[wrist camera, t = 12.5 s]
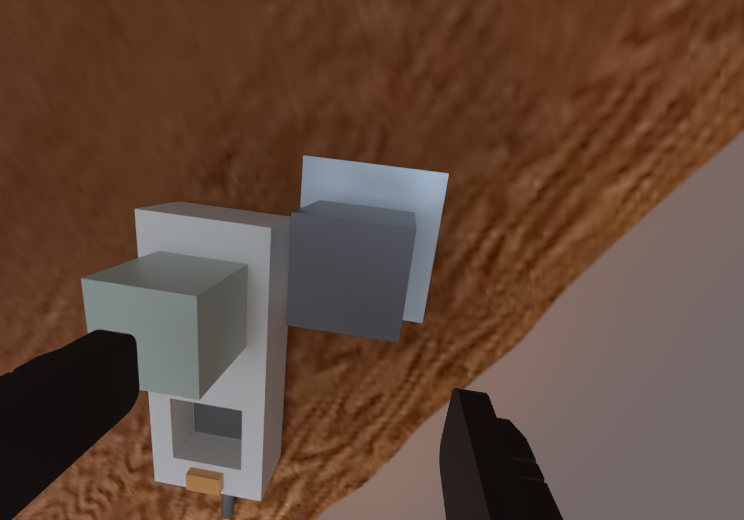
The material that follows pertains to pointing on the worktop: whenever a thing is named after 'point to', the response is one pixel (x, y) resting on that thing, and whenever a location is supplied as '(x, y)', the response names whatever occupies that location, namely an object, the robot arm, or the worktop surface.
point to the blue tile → (386, 207)
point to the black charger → (349, 269)
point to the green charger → (173, 317)
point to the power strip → (247, 372)
